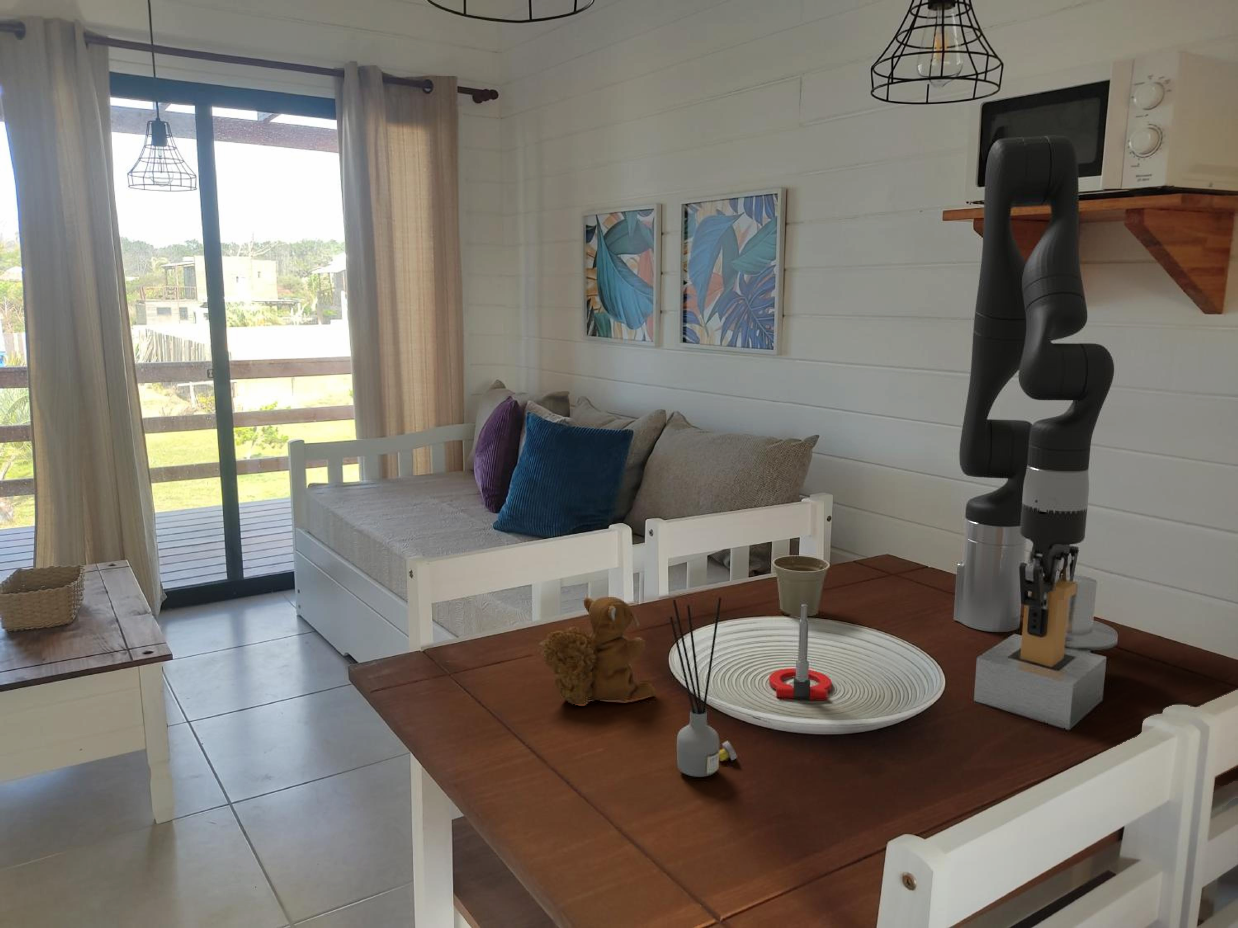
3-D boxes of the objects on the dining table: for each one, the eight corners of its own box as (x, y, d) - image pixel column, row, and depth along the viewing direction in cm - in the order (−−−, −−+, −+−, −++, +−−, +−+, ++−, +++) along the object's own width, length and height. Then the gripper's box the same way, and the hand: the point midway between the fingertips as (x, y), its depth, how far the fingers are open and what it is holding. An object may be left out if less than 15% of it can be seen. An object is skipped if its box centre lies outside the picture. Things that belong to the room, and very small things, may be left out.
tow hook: (768, 674, 132) (769, 698, 123) (771, 586, 131) (772, 604, 122) (829, 678, 131) (833, 703, 122) (832, 589, 130) (837, 608, 120)
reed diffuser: (687, 795, 100) (689, 618, 96) (642, 772, 105) (642, 602, 101) (747, 762, 107) (751, 595, 103) (701, 742, 112) (703, 582, 108)
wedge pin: (1014, 656, 122) (1020, 579, 120) (1026, 648, 125) (1032, 573, 123) (1057, 668, 118) (1065, 589, 116) (1069, 659, 121) (1076, 582, 119)
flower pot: (833, 622, 152) (835, 571, 150) (775, 622, 152) (776, 571, 150) (821, 603, 161) (823, 555, 159) (767, 603, 161) (768, 555, 160)
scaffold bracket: (973, 700, 122) (980, 598, 120) (1040, 653, 138) (1047, 562, 136) (1069, 730, 114) (1078, 621, 112) (1128, 676, 130) (1137, 580, 127)
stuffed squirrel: (661, 696, 124) (661, 602, 122) (568, 722, 117) (567, 623, 114) (621, 671, 133) (621, 583, 130) (532, 694, 125) (530, 600, 123)
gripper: (1045, 489, 125) (1035, 610, 128) (1001, 506, 115) (992, 637, 118) (1105, 497, 120) (1093, 623, 123) (1064, 516, 110) (1053, 653, 113)
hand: (1043, 629), depth 121 cm, fingers open, 4 cm apart
